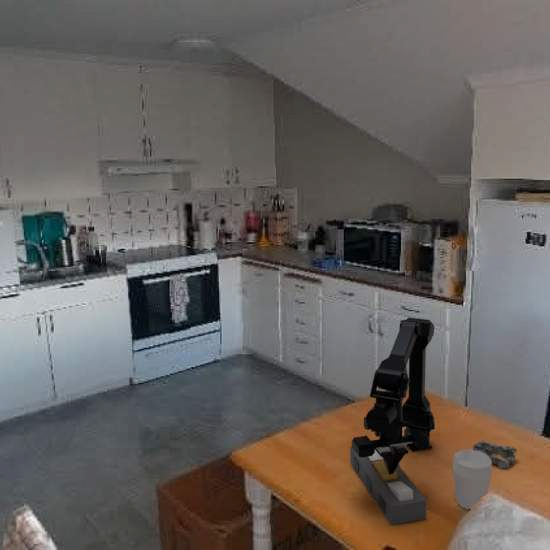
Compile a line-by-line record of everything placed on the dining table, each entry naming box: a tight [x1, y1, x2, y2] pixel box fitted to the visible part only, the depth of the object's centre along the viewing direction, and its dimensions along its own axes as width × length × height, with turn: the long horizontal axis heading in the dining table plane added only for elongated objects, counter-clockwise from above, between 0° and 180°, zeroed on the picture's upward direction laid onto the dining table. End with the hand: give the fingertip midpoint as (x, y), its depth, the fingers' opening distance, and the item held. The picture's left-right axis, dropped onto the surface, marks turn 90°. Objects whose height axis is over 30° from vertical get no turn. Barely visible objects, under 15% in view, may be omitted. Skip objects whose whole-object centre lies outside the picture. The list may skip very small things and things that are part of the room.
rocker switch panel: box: [349, 446, 428, 526], centre depth 146 cm, size 9×28×5 cm, turn 12°
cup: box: [452, 449, 493, 511], centre depth 138 cm, size 9×9×12 cm
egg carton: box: [471, 440, 518, 470], centre depth 158 cm, size 11×8×4 cm
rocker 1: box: [367, 450, 383, 462], centre depth 154 cm, size 4×7×2 cm, turn 12°
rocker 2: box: [373, 460, 397, 481], centre depth 145 cm, size 4×7×2 cm, turn 12°
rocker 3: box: [387, 481, 413, 502], centre depth 136 cm, size 4×7×2 cm, turn 12°
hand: (390, 473), depth 142 cm, fingers closed, pressing on rocker 2
